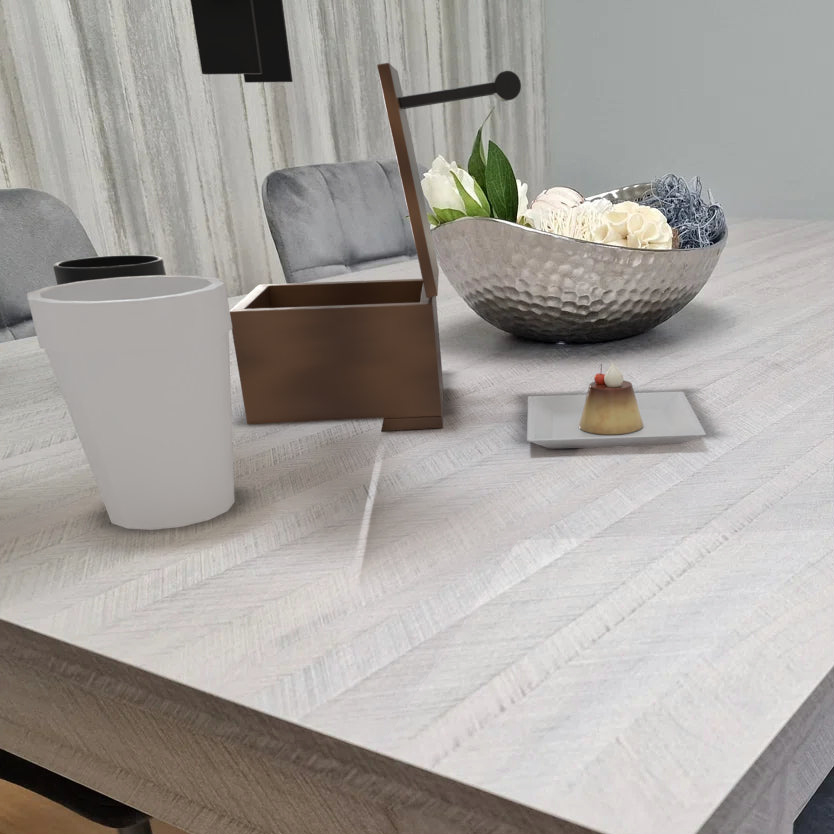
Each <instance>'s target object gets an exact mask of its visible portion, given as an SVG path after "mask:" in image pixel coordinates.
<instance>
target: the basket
mask: <svg viewBox="0 0 834 834" xmlns="http://www.w3.org/2000/svg"><path fill="white" fill-rule="evenodd" d="M437 303H438V302H437V296H435V297H429V298H427V297H426V293H425V289H424V284H423V279H422V278H404V279H403V278H402V279H375V280H348V281H347V280H345V281H319V282H317V281H316V282H294V283H293V282H292V283H288V282H287V283H264V284H263V283H261V284H257V286H256V287H255V288H254V289H252V290H251V291H250V292H249V293H248V294H247V295H246V296H244V297H243V298H242V299H241V300H240V301H239V302H237V304H236V305H235V306H233V308H231V309H230V316H231V322H232V329H231V334H232V340H233V345H234V346H233V347H234V351H235V359H236V364H237V369H238V376H239V382H240V388H241V389H240V390H241V394H242V401H243V407H244V413H245V420H246V424H247V425H257V424H275V423H277V424H279V423H294V422H295V423H296V422H297V423H298V422H315V421H317V422H318V421H335V420H354V419H355V420H357V419H374V418H375V419H376V418H383V420H382V425H381V430H380V431H381V432H390V431H410V430H411V431H412V430H429V429H443V428H444V378H443V366H442V353H441V341H440V340H441V339H440V329H439V317H438V316H439V315H438V304H437Z"/></svg>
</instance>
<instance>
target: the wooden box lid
mask: <svg viewBox="0 0 834 834" xmlns="http://www.w3.org/2000/svg"><path fill="white" fill-rule="evenodd" d="M376 69H377V73H378V77H379V81H380V86H381V92H382V96H383V101H384V106H385V110H386V111H385V112H386V114H387V115H386V116H387V120H388V125H389V129H390V134H391V138H392V142H393V148H394V152H395V157H396V162H397V167H398V171H399V176H400V180H401V186H402V190H403V195H404V200H405V204H406V208H407V213H408V218H409V224H410V228H411V232H412V237H413V242H414V247H415V250H416V251H415V252H416V255H417V260H418V265H419V269H420V275H421V279H423V284H424V289H425V293H426V297H427V298H429V297H435V296H436V297H438V295H439V294H438V292H439V275H440V274H439V273H440V271H439V265H438V261H437V256H436V249H435V245H434V241H433V236H432V231H431V230H432V229H431V226H430V221H429V216H428V211H427V207H426V201H425V196H424V193H423V187H422V182H421V177H420V172H419V168H418V162H417V157H416V152H415V148H414V144H413V138H412V134H411V129H410V123H409V119H408V115H407V109H413V108H420V107H425V106H431V105H438V104H444V103H449V102H450V103H452V102H457V101H462V100H470V99H475V98H481V97H488V96H493V97H494V98H495V99H497V100H498V101H500V102H509V101H512V100H514V99H517V97H518V96H519V94H520V93H521V90H522V83H521V79H520V77H519V76H518V74H516V73H515V72H514V71H512V70H503V71H501V72H499V73H498V74H497V75H496V76H494V77H493V79H492V81H491V82H484V83H478V84H473V85H466V86H461V87H460V86H459V87H453V88H446V89H441V90H435V91H429V92H422V93H416V94H410V95H403V90H402V85H401V80H400V75H399V71H398V70H397V69H396V68H395V67H394V66H393V65H392V64H391V63H390V62H382V63H378V64H376Z"/></svg>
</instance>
